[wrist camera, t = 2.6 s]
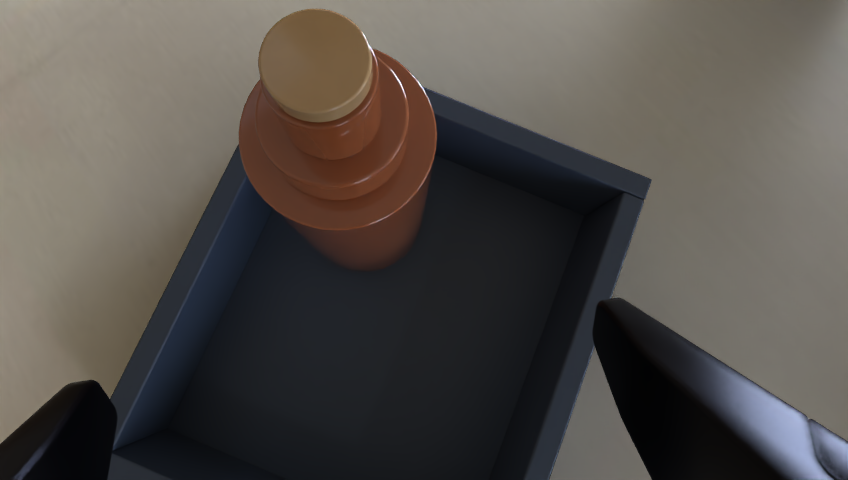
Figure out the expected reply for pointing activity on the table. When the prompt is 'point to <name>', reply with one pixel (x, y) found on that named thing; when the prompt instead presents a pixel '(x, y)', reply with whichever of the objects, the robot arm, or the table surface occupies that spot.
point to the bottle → (339, 140)
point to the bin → (385, 326)
